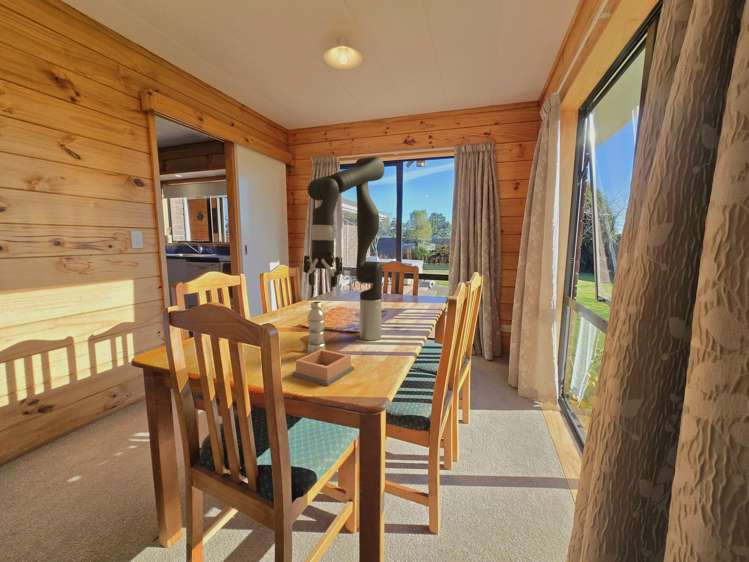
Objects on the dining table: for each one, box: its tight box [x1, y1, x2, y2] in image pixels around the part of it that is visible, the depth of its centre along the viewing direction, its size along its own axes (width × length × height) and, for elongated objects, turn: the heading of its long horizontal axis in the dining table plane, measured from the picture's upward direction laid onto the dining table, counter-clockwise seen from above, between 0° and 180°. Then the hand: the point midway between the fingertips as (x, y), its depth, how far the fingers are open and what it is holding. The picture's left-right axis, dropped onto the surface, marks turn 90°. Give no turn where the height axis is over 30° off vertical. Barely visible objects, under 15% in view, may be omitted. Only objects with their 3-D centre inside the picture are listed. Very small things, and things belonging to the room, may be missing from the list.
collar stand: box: [292, 349, 355, 387], centre depth 107 cm, size 14×14×5 cm
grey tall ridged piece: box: [307, 301, 327, 355], centre depth 121 cm, size 6×7×20 cm
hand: (322, 286), depth 115 cm, fingers open, 8 cm apart
